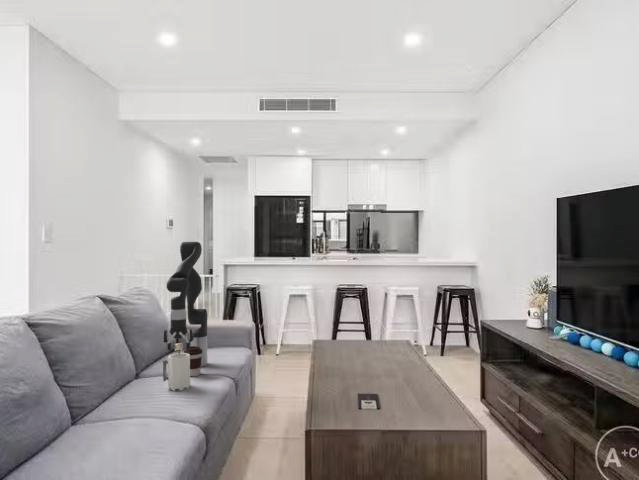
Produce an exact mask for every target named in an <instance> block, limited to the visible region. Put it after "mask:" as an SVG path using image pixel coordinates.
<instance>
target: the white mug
mask: <svg viewBox="0 0 639 480" xmlns="http://www.w3.org/2000/svg"><path fill="white" fill-rule="evenodd" d="M162 370H163V371H162V373H163V374H162V375H163V376H162V379H163V382H166V381H167V383H168V387H167V389H168V390H169V389H170V390H169V391H171V390H173V391H172V392H179V391H178V390H182V391H185V390H188V389H187V388H189V389H190V387H191V377H190V354H187V353H184V352H180V358H178V352H177V353H172V354H169V355H168V356H167V359H163V360H162ZM167 371H168V372H167ZM184 389H185V390H184Z"/></svg>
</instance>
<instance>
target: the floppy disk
mask: <svg viewBox="0 0 639 480" xmlns="http://www.w3.org/2000/svg"><path fill="white" fill-rule="evenodd" d="M357 399H358V400H357V404H358V410H381V408H380V402H379V395H378V393H357Z"/></svg>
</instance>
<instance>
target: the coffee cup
mask: <svg viewBox="0 0 639 480" xmlns="http://www.w3.org/2000/svg"><path fill="white" fill-rule="evenodd" d="M183 353H187V354H190V376H193V377H198V376H200V375H201V368H202V367H201V359H202V356H201V353H202V349H200V347H198V346H191V345H190V349H189V350H187V348H186V349H185V350H184V349H183Z"/></svg>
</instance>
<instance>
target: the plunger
mask: <svg viewBox="0 0 639 480" xmlns="http://www.w3.org/2000/svg"><path fill="white" fill-rule="evenodd" d="M174 351H175V352H177V353H178V358H180V353H181V351H184V343H183V342H178V343H174Z"/></svg>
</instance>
